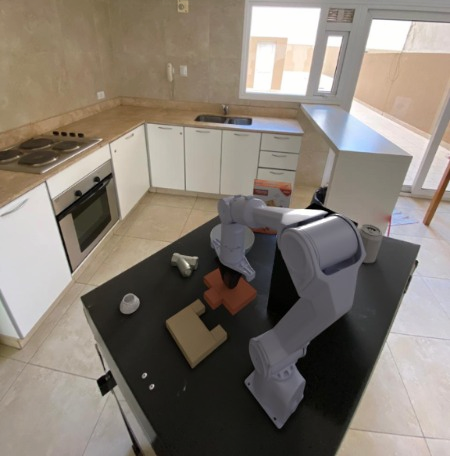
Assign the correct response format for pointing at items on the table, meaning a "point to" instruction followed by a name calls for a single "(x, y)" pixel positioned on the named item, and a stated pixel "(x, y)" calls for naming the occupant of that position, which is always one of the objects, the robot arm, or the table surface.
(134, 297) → the white jar
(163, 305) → the table surface
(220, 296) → the terracotta pad
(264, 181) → the cracker box
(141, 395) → the table surface
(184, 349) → the sand pad
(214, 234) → the chinaware
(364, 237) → the can
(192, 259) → the pipe fitting
